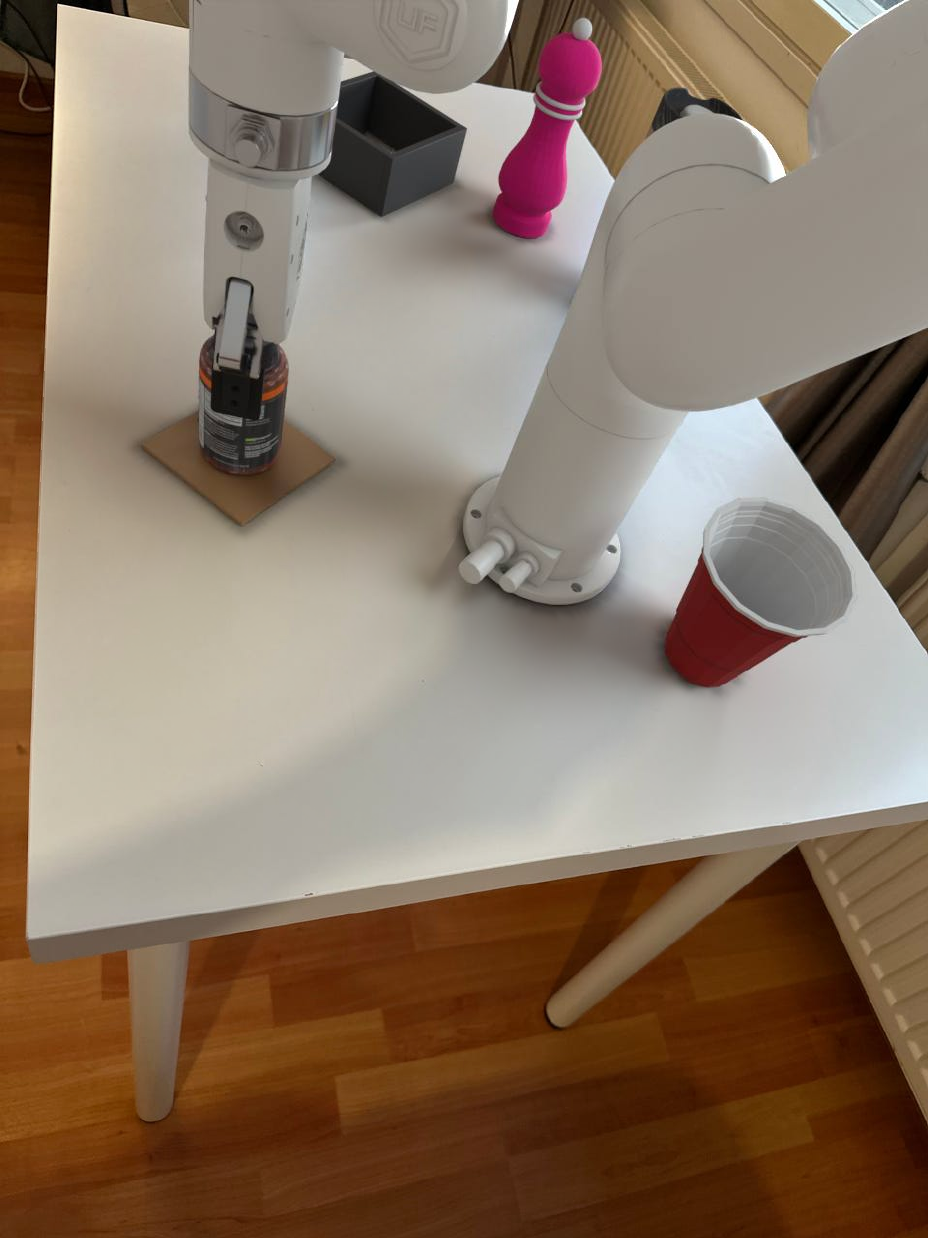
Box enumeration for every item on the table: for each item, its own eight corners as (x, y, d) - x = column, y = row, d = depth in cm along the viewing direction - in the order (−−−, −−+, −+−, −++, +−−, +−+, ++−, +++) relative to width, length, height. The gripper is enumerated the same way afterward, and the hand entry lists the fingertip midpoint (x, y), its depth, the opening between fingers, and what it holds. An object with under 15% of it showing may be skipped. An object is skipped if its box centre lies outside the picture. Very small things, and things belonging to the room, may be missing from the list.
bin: (381, 216, 89) (392, 159, 84) (289, 154, 91) (295, 95, 87) (453, 182, 96) (467, 128, 92) (366, 126, 99) (375, 69, 94)
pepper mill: (552, 248, 94) (626, 46, 78) (487, 231, 93) (549, 23, 77) (550, 212, 98) (619, 14, 82) (488, 195, 97) (546, -9, 81)
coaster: (241, 526, 62) (242, 522, 62) (141, 447, 64) (141, 443, 64) (335, 461, 68) (335, 457, 68) (240, 390, 70) (240, 386, 69)
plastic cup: (616, 681, 63) (692, 580, 53) (648, 578, 69) (721, 472, 60) (754, 745, 62) (856, 656, 53) (773, 635, 69) (866, 539, 60)
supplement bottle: (239, 411, 68) (247, 284, 59) (296, 454, 67) (313, 332, 58) (180, 445, 64) (179, 317, 55) (239, 492, 63) (248, 368, 54)
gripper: (314, 220, 42) (281, 480, 56) (349, 63, 52) (314, 316, 66) (151, 179, 40) (159, 457, 54) (220, 25, 50) (212, 293, 65)
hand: (244, 378), depth 60 cm, fingers open, 6 cm apart
